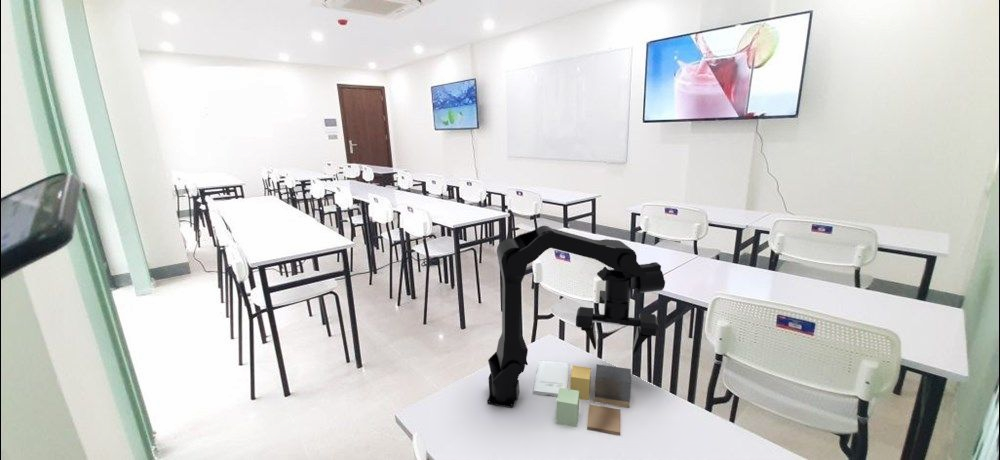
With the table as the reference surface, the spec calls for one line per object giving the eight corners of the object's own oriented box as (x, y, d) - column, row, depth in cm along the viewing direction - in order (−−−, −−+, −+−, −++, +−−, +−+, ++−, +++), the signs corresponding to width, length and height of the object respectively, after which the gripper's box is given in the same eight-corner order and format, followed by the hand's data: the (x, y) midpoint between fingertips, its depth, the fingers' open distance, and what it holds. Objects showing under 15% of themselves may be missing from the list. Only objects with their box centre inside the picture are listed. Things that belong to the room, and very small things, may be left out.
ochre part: (570, 397, 99) (570, 376, 97) (572, 385, 103) (572, 365, 101) (588, 400, 98) (589, 379, 96) (590, 388, 102) (591, 367, 100)
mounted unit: (594, 401, 97) (595, 377, 95) (595, 387, 102) (596, 363, 100) (629, 407, 95) (631, 382, 93) (629, 392, 100) (630, 368, 97)
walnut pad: (586, 429, 89) (587, 426, 89) (589, 407, 95) (589, 404, 95) (620, 435, 87) (620, 432, 87) (620, 412, 93) (620, 409, 93)
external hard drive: (569, 368, 110) (566, 399, 99) (539, 365, 112) (532, 395, 100) (569, 363, 110) (566, 394, 98) (539, 360, 112) (532, 390, 100)
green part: (556, 423, 91) (556, 401, 89) (559, 409, 95) (559, 387, 93) (576, 426, 90) (577, 404, 88) (578, 412, 94) (579, 390, 92)
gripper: (657, 283, 101) (652, 338, 106) (580, 276, 106) (579, 329, 111) (660, 304, 91) (655, 363, 95) (576, 296, 96) (574, 353, 101)
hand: (614, 350), depth 101 cm, fingers open, 9 cm apart
